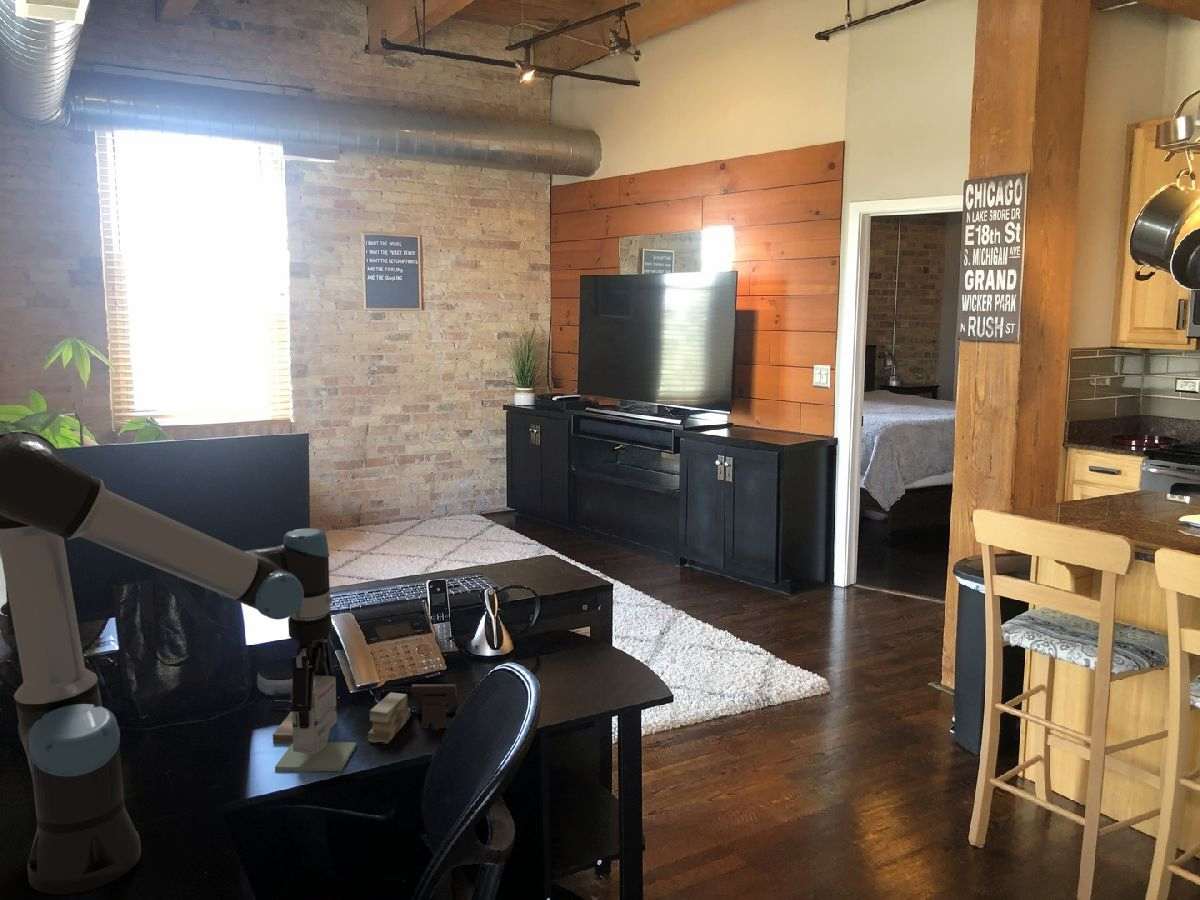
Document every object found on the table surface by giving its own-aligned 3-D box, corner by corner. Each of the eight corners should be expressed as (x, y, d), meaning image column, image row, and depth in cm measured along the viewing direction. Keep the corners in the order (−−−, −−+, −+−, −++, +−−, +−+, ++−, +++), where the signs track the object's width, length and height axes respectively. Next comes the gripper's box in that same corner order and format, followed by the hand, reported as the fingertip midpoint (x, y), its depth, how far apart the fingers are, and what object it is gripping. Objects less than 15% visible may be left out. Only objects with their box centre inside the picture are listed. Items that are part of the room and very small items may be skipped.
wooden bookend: (307, 743, 188) (303, 663, 185) (273, 742, 188) (268, 663, 186) (329, 711, 202) (325, 637, 199) (297, 711, 202) (293, 637, 199)
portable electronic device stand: (460, 711, 202) (459, 673, 201) (456, 728, 194) (455, 689, 193) (417, 712, 202) (416, 673, 201) (411, 729, 194) (410, 689, 193)
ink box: (315, 731, 186) (312, 673, 184) (339, 734, 185) (337, 675, 183) (292, 752, 178) (289, 691, 176) (317, 755, 177) (314, 694, 175)
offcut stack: (389, 744, 188) (388, 715, 187) (367, 742, 189) (366, 713, 188) (411, 717, 200) (410, 690, 199) (391, 716, 200) (390, 688, 199)
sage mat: (340, 772, 177) (340, 767, 177) (275, 770, 177) (274, 766, 177) (356, 746, 187) (356, 742, 186) (293, 745, 187) (293, 741, 187)
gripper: (310, 635, 166) (316, 759, 170) (347, 595, 188) (352, 706, 192) (267, 635, 167) (274, 758, 170) (308, 595, 188) (314, 705, 192)
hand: (315, 730), depth 181 cm, fingers closed on ink box, 9 cm apart
